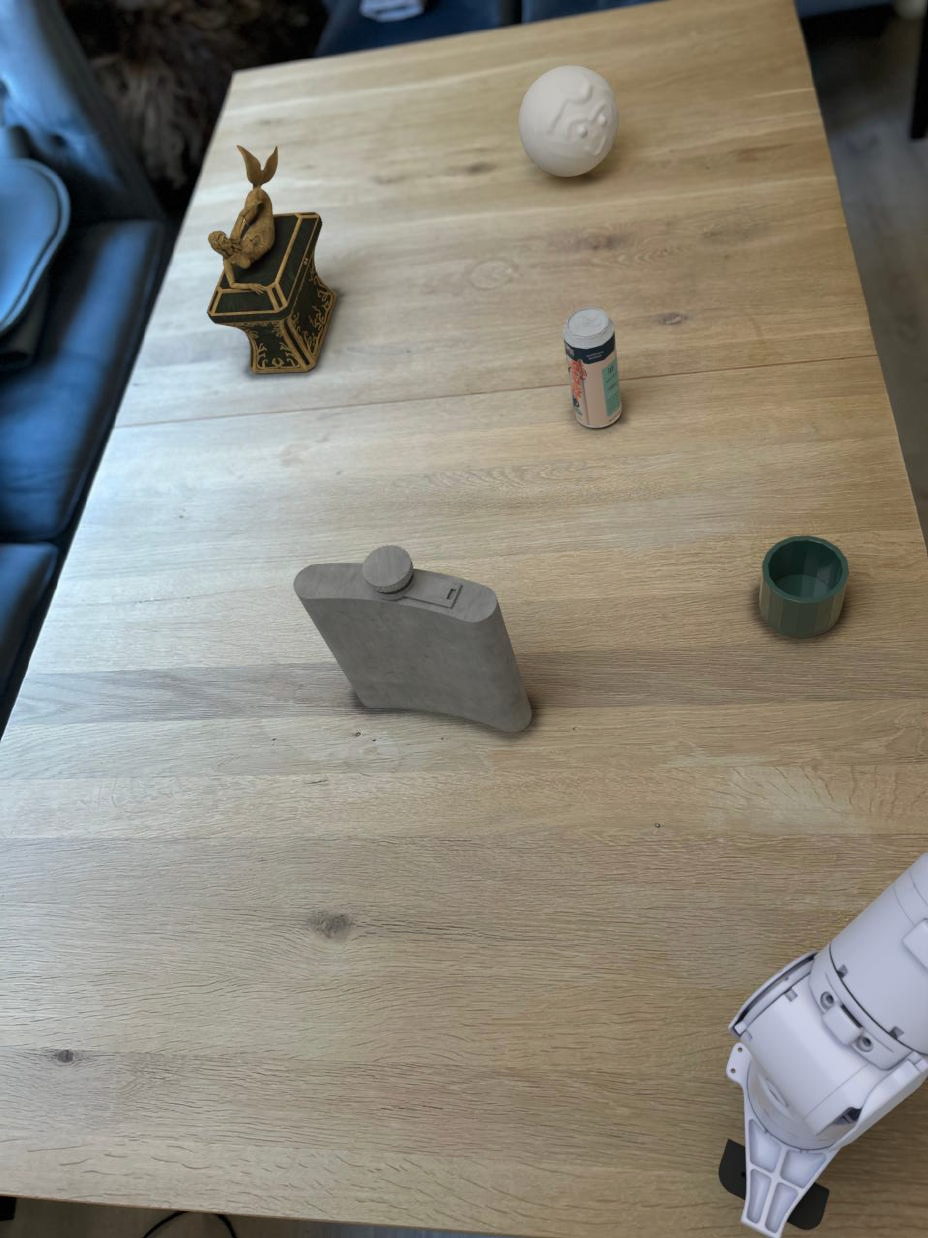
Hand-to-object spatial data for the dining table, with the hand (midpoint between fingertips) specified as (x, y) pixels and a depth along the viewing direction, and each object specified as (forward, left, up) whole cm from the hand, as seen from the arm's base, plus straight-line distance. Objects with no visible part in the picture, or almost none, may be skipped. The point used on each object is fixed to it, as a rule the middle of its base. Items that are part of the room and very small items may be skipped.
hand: (789, 1111), depth 61 cm
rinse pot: (+10, -39, -4) cm, 40 cm away
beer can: (+35, -55, -4) cm, 65 cm away
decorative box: (+75, -59, -4) cm, 96 cm away
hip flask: (+35, -20, -4) cm, 41 cm away
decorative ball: (+54, -93, -4) cm, 107 cm away
